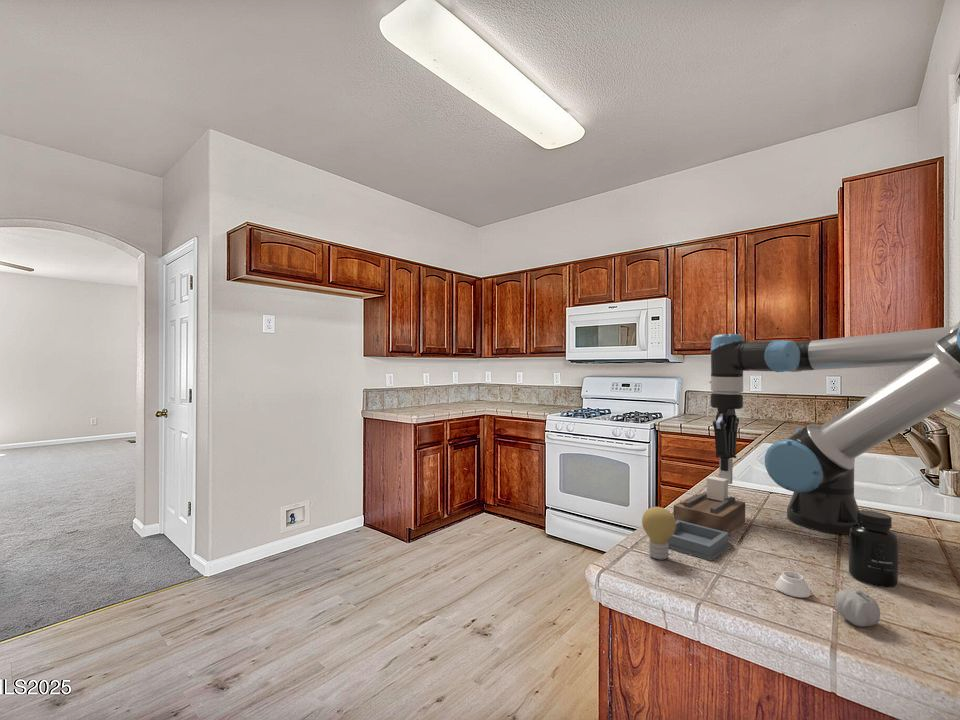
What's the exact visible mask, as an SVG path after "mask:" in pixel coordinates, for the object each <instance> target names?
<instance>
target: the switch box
mask: <svg viewBox="0 0 960 720" xmlns="http://www.w3.org/2000/svg"><path fill="white" fill-rule="evenodd" d="M673 516H674V518H675V521H676V520H680V521H684V522H688V523H692V524H696V525H700V526H704V527H708V528H712V529H716V530H719V531H723V532H727V533H729V535H731V534H732V533H733V532H734V531H735V530H737V529H738V528H739V527H741V526H742V525H744V524H745V523H746V502H745V501H740V500H736V497H735V496H732V495H731V496H728V498H727V499H725V500H724V501H719V500H714V499H709V498H707V490H706V491H703V492H695V494H693V495H692V496H690V497H688V498H685V499H684V500H683V499H682V500H679V502H678V503H675V504H673Z"/></svg>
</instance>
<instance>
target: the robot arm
mask: <svg viewBox="0 0 960 720" xmlns="http://www.w3.org/2000/svg"><path fill="white" fill-rule="evenodd" d="M895 366H896V367H898V366H913V367H911V368H909V370H908V369H907V371H905V372H903V373H901V375H899V376H898V377H895V378H894V379H893V380H891V381H889V382H888V383H886V384H885V385H883V386H882V387H880V388H879V389H877V390H875V391H873V392H872V393H870V394H869V395H867V396H866V397H864V398H863V399H861V400H860V401H858V402H857V403H854V405H852V406H850V407H848V408H846V410H844V411H842V412H841V413H839V414H837V415H836V416H834V417H833V418H831V419H829V420H828V421H827V422H825V423H823V424H817V423H816V424H814V423H809V424H808V425H805V427H802V428H801V427H800V428H797V429H795V433H794V434H792V435H791V436H789V437H787V438H785V439H780V440H777V441H775V442H774V443H773V444H771V445H770V446H768V448H767V450H766V452H765V454H764V466H765V469H766V472H767V474H768V476H769V477H770V479H772V481H773V482H775V484H776V485H778V486H779V487H781V488H782V489H785V490H787V491H789V492H792V495H791V498H790V501H789V503H788V505H787V508H786V518H787V519H788V520H789V521H791V522H792V523H793V524H797V525H798V526H801V527H805V528H808V529H812V530H816V531H820V532H826V533H831V534H832V533H833V534H841V535H850V528H851V527H852V526H853V525H855V524H858V522H857V521H856V518H857V511H858V510H860V508H859V506H858V503H857V500H856V498H855V497H856V496H855V460H856V458H858V457H859V456H861V455H862V454H863V455H864V454H865V453H866V452H868V451H870V450H872V449H873V448H875V447H877V446H879V445H881V444H882V443H884V442H886V441H888V440H889V439H892V438H893V437H895V436H897V435H899V434H900V433H902V432H904V431H905V430H908V429H910V428H911V427H912V426H914V425H916V424H918V423H920V422H922V421H924V420H925V419H927V418H929V417H930V416H933V415H934V414H936V413H939V412H940V411H942V410H943V409H945V408H947V407H949V406H950V405H953V404H954V403H955V402H957V401H959V400H960V320H959V321H958V322H957V323H956V324H954V325H953V326H945V327H943V326H941V327H936V328H935V327H933V328H926V329H925V328H922V329H916V330H905V331H903V330H902V331H896V332H895V331H894V332H893V331H892V332H885V333H876V334H873V333H872V334H866V335H865V334H864V335H856V336H855V335H854V336H845V337H835V338H826V339H815V340H804V341H793V340H783V339H775V340H760V341H756V340H755V341H745V340H744V336H743V334H738V333H735V334H734V333H729V334H728V333H725V334H721V333H720V334H715V335H714V336H712V338H711V345H710V379H709V380H708V383H709V384H710V391H711V392H712V393H711V394H710V407H711V408H714V409H717V411H716V412H717V413H716V415H715V420H713V421H712V427H713V431H714V432H713V433H714V442H715V454H716V455H715V458H719V472H718V473H719V477H718V478H724V479H728V485H732V484H733V463H734V462H733V459H736V458H737V455H736V454H737V442H738V441H737V440H738V431H739V429H738V428H739V423H740V418H739V417H738V416H737V415H736V413H737V412H736V410H741V409H743V408H744V395H743V394H741V393H743V392H744V372H750V371H751V372H753V371H754V372H774V373H784V372H785V373H786V372H790V373H791V372H792V373H793V372H794V373H795V372H796V373H797V372H798V373H799V372H805V371H806V372H807V371H820V370H837V369H840V370H841V369H859V368H876V367H877V368H878V367H879V368H880V367H895Z"/></svg>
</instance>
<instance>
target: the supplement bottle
mask: <svg viewBox="0 0 960 720" xmlns="http://www.w3.org/2000/svg"><path fill="white" fill-rule="evenodd" d="M892 519H893V518H892V516H891V515H888V514H886V513H882V512H880V511H873V510H867V509H859V510H858V511H857V518H856V521H857V522H858V524H855V525H853V526H852V527H851V528H850V534H849V537H848V538H849V540H848V541H849V542H848V546H849V547H848V572H849V574H850V576H852V578H854V579H855V580H858V581H860V582H862V583H863V584H864V583H865V584H868V585H871V586H875V587H882V588H894V587H897V585H898V583H899V557H900V556H899V549H900V546H899V545H900V544H899V543H900V541H899V538H898V536H897V533H895V532H894V531H892V530H891V529H892V528H893V524H892V522H893V521H892Z"/></svg>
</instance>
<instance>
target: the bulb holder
mask: <svg viewBox="0 0 960 720" xmlns="http://www.w3.org/2000/svg"><path fill="white" fill-rule="evenodd" d="M729 535H730V534H729V533H727V532H723V531H719V530H716V529H712V528H708V527H704V526H700V525H696V524H692V523H688V522H684V521H680V520H676V529H675V532H674V534H673V535H672V536H671V538H670V539H669V540H668V541H667V542H668V543H669V547H668V548H669V550H670V549H671V550H674V551H677V552H679V553H683V554H687V555H690V554H691V555H690V556H693V555H694V557H696V556H697V557H696V558H699V557H700V559H703V560H707V561H710V562H713V560H716V558H717V557H718V556H720V555H722V554H723V553H724V552H725V551H726V550H728V549H729V548H730V547H731V546H732V545H733V542H732V541H730V540H729V539H730V538H729V537H730V536H729Z"/></svg>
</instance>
